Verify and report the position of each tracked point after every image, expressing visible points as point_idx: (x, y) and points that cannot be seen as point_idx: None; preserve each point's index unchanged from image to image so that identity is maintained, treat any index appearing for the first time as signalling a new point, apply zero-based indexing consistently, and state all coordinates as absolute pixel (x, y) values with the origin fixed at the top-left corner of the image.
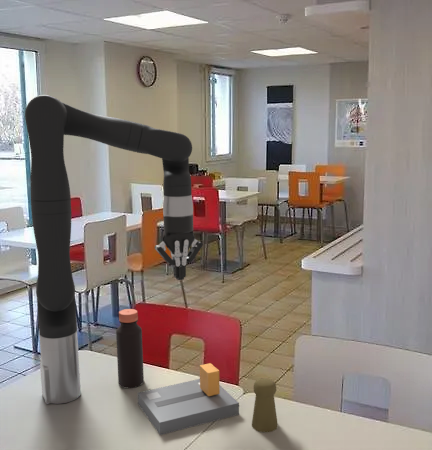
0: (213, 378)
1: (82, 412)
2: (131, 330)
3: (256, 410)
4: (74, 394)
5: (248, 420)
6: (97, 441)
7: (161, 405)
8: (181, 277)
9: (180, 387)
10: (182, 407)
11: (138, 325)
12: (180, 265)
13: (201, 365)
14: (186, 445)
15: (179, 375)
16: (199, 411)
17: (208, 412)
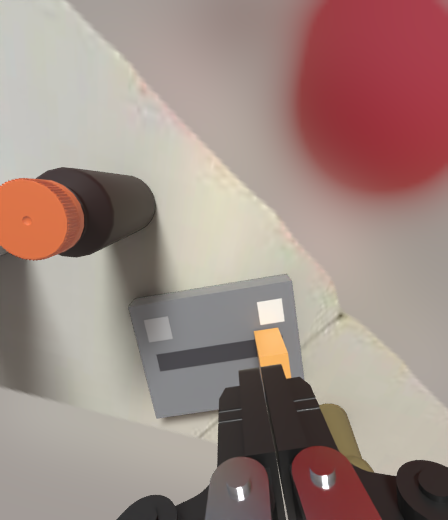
0: None
1: (32, 299)
2: (72, 250)
3: None
4: (4, 251)
5: None
6: (64, 393)
7: (167, 368)
8: (271, 431)
9: (217, 310)
10: (203, 384)
11: (98, 212)
12: (291, 496)
13: (263, 359)
14: (195, 437)
15: (238, 199)
16: None
17: None
